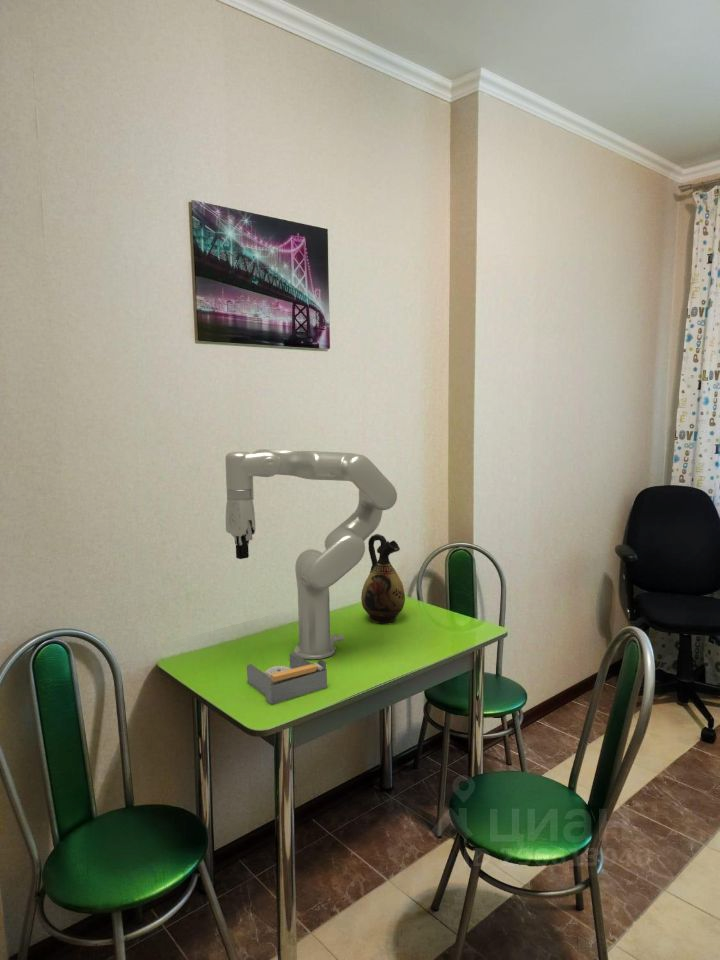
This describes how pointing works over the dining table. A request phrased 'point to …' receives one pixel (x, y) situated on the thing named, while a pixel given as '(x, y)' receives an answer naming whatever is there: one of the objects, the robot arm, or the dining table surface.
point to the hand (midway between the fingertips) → (242, 557)
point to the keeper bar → (295, 672)
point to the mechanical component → (276, 669)
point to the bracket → (288, 681)
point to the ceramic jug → (382, 584)
